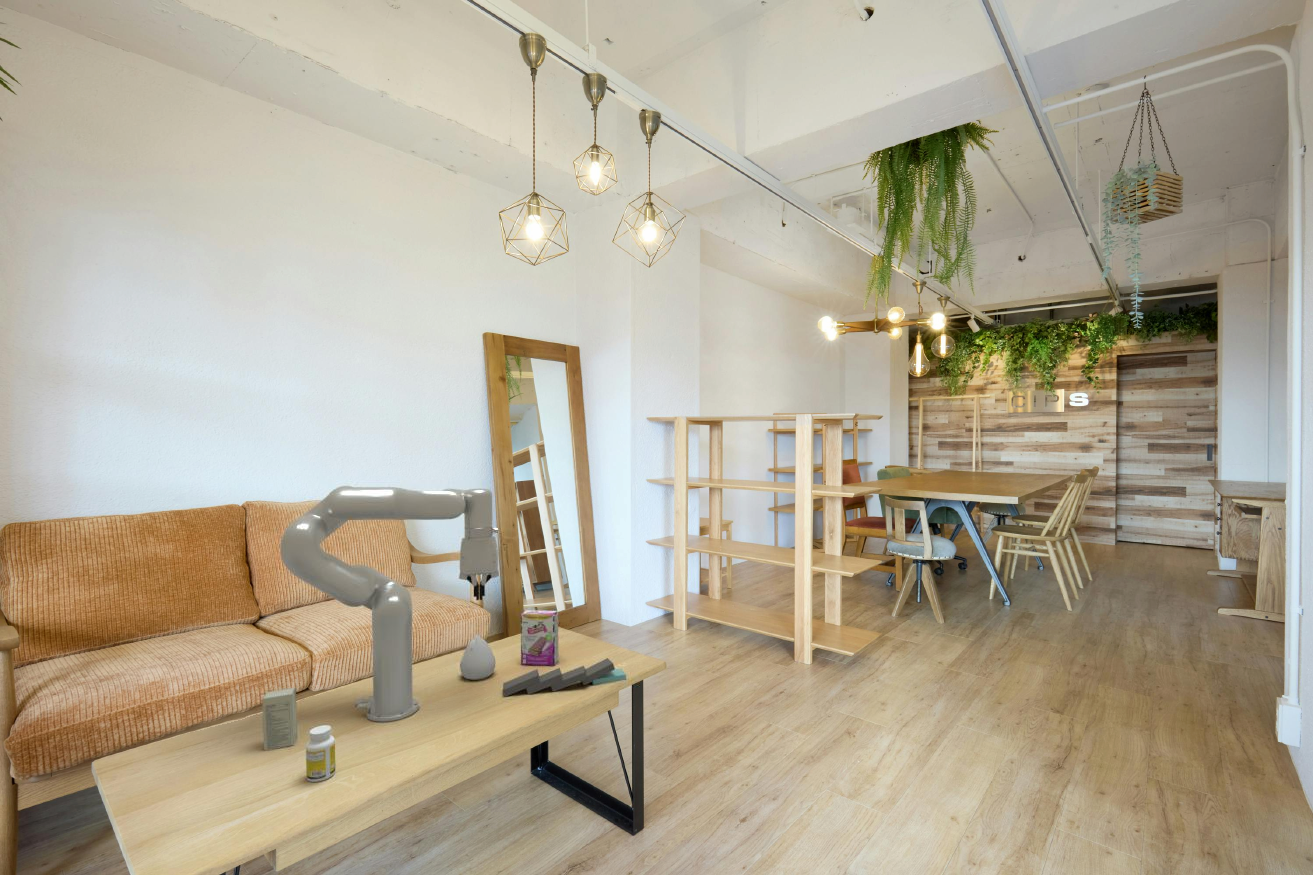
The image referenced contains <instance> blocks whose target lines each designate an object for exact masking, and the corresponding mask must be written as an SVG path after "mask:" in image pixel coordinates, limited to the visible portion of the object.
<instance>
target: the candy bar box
mask: <svg viewBox="0 0 1313 875" xmlns="http://www.w3.org/2000/svg"><path fill="white" fill-rule="evenodd" d="M558 662H559V611H558V610H539V609H538V610H537V609H532V610H531V609H525V610H524V611H523V612H522V613H521V614H520V664H521V666H544V667H545V666H547V667H548V666H550V667H551V666H552V667H554V666H556V665H557V663H558Z"/></svg>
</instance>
